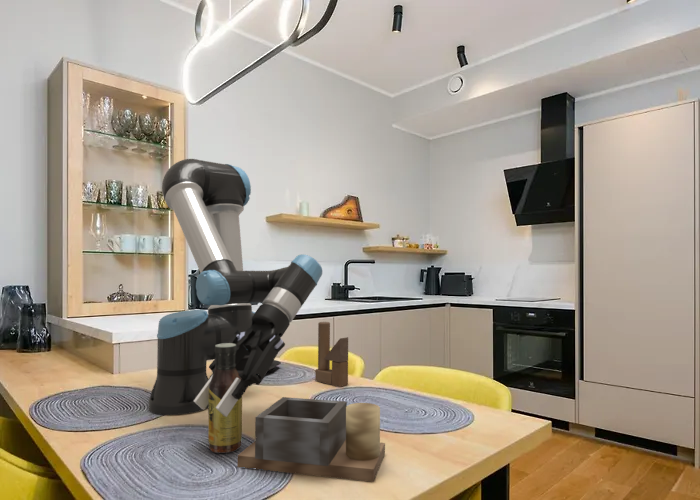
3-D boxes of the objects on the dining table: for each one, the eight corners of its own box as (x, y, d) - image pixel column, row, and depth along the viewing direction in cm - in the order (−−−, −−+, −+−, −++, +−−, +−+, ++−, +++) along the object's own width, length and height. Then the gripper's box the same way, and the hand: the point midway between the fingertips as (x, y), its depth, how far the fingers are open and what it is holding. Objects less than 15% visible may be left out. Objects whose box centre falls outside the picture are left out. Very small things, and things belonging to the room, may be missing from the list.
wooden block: (339, 387, 138) (340, 325, 138) (314, 381, 145) (315, 322, 146) (348, 385, 140) (348, 324, 141) (323, 379, 148) (324, 321, 148)
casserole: (240, 383, 142) (240, 355, 142) (198, 375, 152) (198, 349, 152) (293, 369, 163) (293, 344, 163) (253, 362, 173) (254, 339, 173)
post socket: (236, 468, 82) (236, 409, 82) (265, 441, 95) (266, 390, 95) (373, 483, 76) (373, 420, 77) (385, 452, 89) (385, 398, 90)
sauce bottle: (211, 443, 94) (212, 341, 94) (244, 442, 94) (244, 341, 95) (204, 456, 87) (205, 347, 88) (239, 455, 88) (239, 346, 88)
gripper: (317, 328, 98) (254, 430, 84) (255, 322, 109) (191, 410, 96) (299, 304, 94) (230, 407, 80) (237, 300, 105) (168, 388, 92)
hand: (209, 408), depth 88 cm, fingers closed on sauce bottle, 6 cm apart
